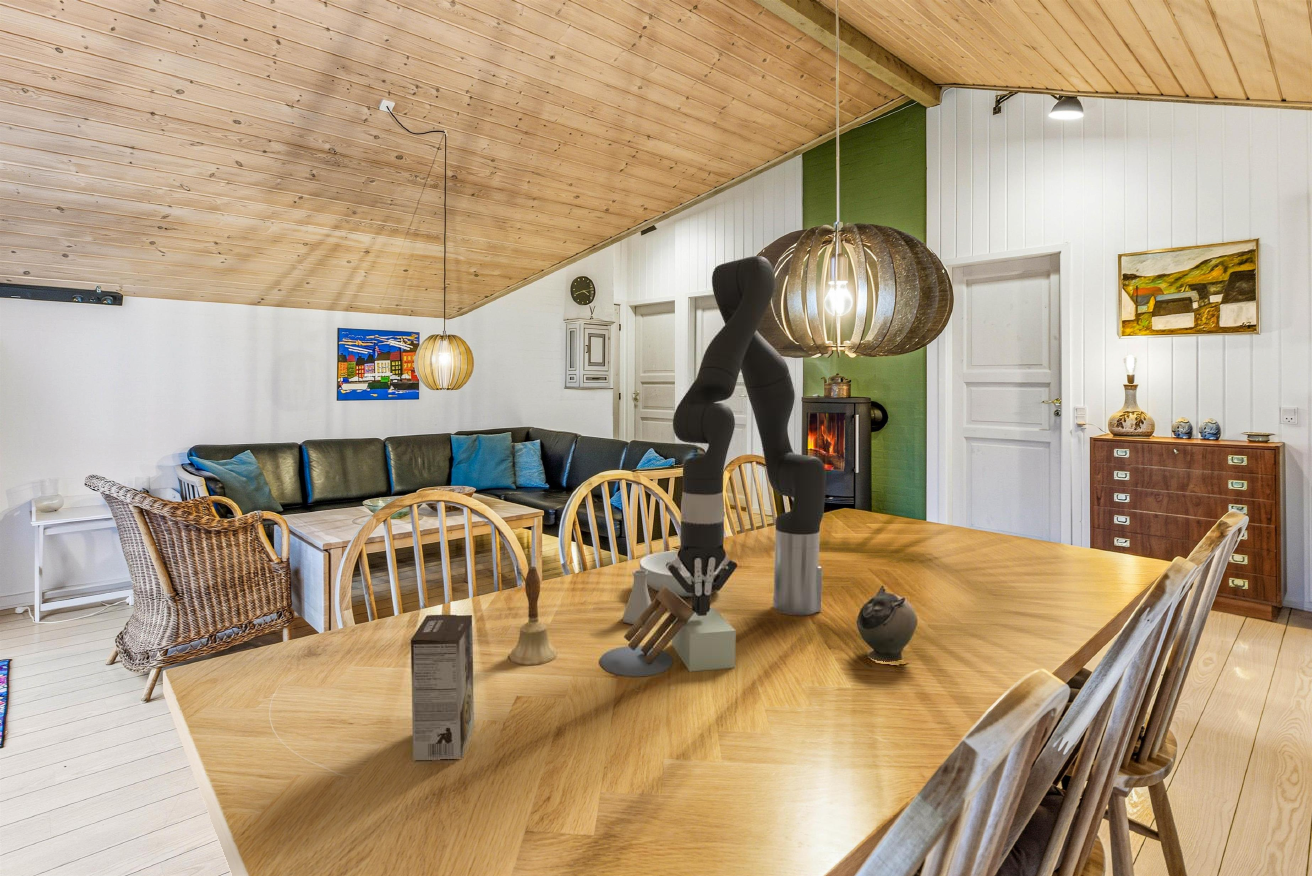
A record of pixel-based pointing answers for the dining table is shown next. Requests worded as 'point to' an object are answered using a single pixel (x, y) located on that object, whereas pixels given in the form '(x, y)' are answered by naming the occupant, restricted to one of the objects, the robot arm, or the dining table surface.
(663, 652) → the mat
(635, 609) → the flask
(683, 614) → the stool
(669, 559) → the serving bowl
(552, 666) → the dining table surface
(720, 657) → the box
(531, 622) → the hand bell
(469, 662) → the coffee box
